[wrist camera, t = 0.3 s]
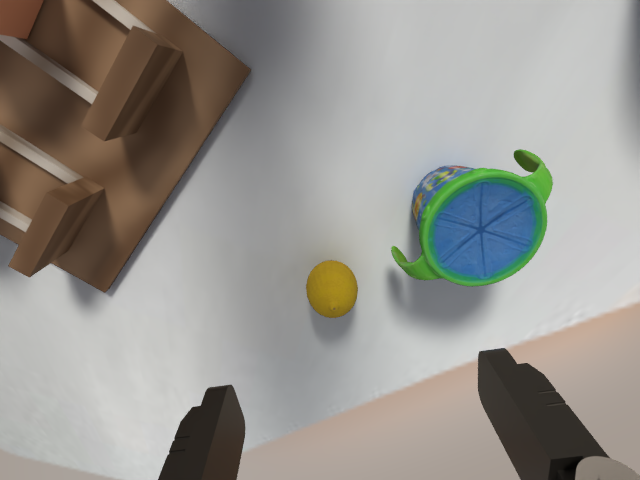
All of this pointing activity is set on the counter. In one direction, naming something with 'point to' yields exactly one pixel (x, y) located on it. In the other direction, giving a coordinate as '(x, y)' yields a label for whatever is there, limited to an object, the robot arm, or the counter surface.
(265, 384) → the counter surface
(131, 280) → the counter surface
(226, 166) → the counter surface
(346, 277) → the lemon
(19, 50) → the board
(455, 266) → the snack cup
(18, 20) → the terracotta slider
